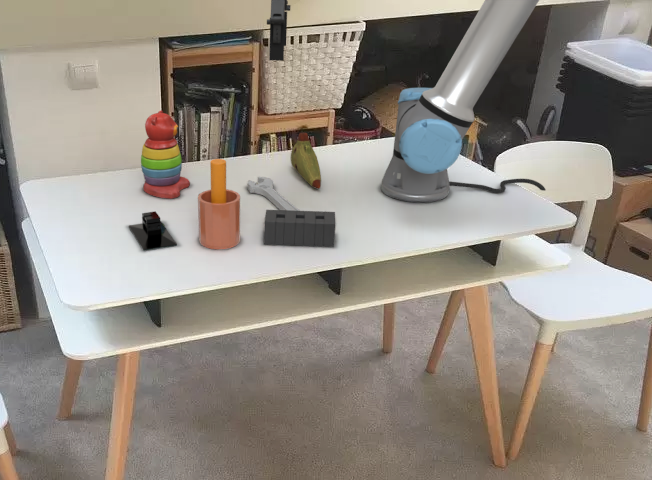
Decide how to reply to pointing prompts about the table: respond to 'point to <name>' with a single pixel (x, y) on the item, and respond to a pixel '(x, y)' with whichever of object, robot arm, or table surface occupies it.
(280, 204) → the adjustable wrench
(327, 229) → the holder
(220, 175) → the orange round dowel
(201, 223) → the pen cup
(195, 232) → the table surface
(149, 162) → the stacking bear
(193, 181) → the table surface
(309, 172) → the olive green tapered piece
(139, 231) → the build plate
